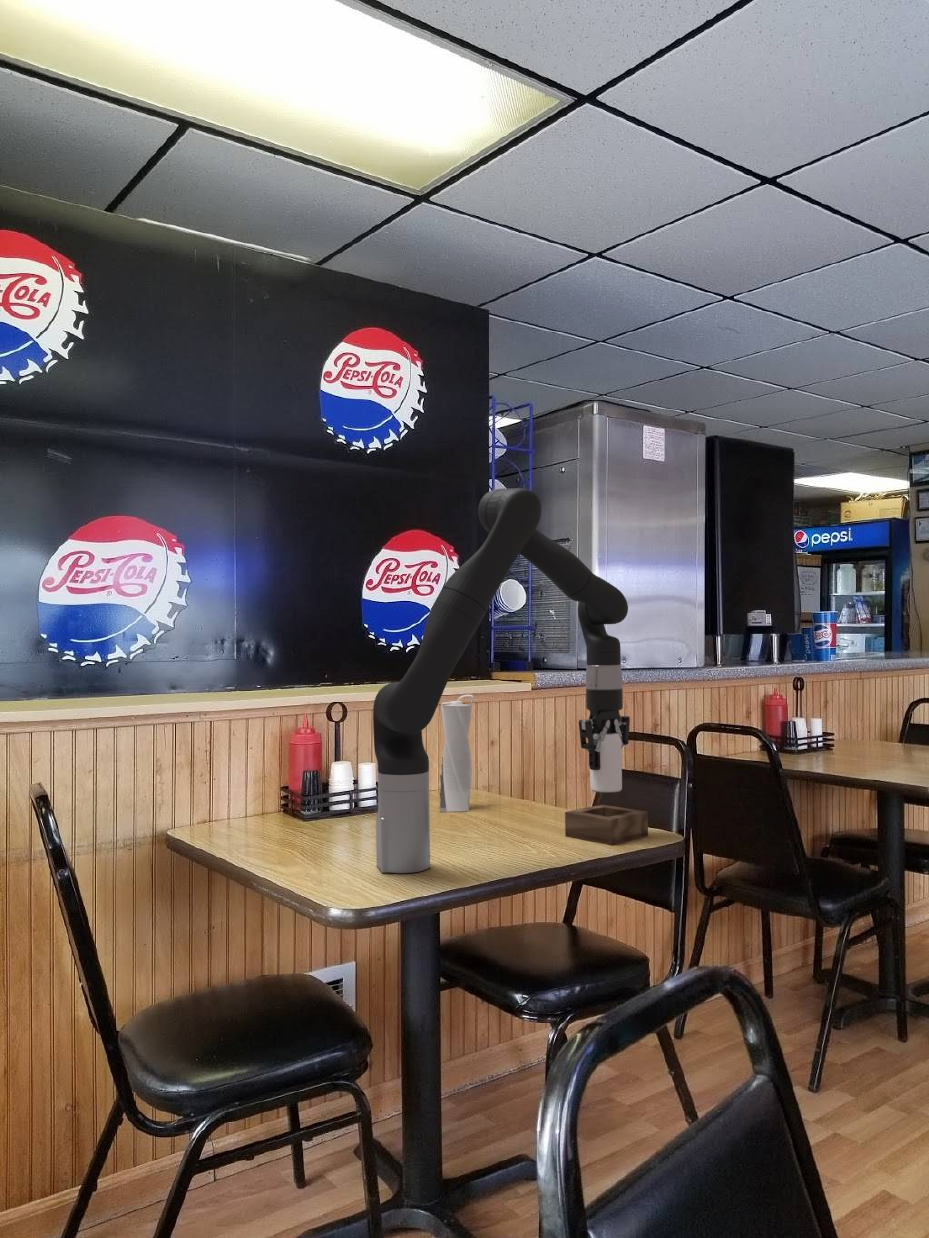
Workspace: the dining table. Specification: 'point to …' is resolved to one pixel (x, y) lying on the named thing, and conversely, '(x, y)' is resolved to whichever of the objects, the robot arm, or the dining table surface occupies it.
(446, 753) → the grey water bottle
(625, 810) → the box
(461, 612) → the robot arm
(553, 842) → the dining table surface
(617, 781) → the can
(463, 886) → the dining table surface
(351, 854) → the dining table surface
